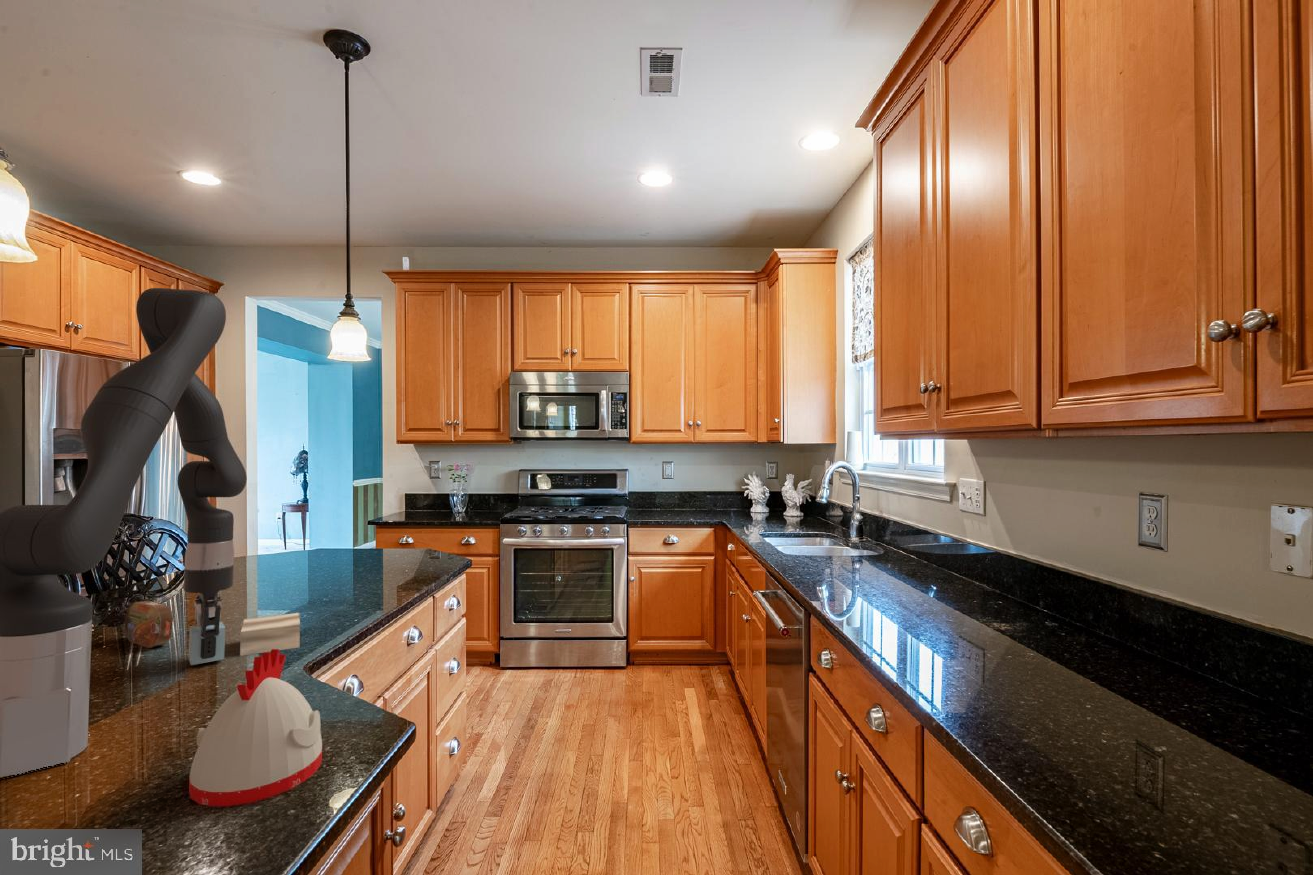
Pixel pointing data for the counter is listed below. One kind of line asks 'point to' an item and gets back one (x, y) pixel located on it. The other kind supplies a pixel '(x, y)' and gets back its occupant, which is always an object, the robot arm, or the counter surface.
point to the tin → (148, 624)
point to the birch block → (270, 633)
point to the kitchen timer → (256, 740)
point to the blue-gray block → (196, 644)
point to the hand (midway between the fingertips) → (206, 653)
